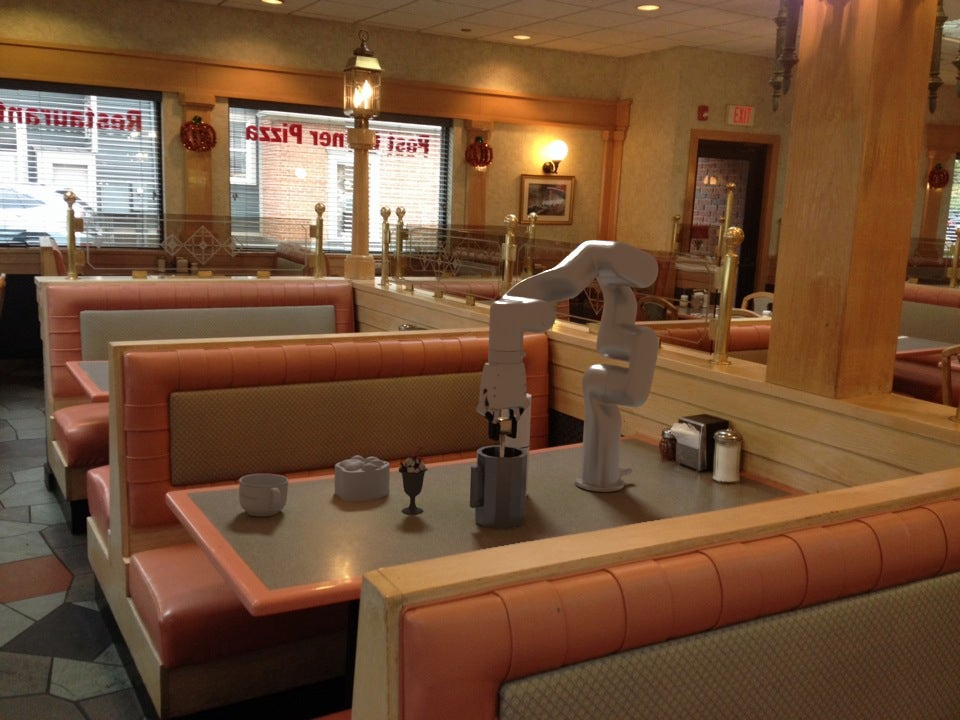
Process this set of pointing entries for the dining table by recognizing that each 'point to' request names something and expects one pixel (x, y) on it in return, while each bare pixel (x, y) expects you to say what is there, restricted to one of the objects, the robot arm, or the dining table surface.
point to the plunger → (504, 431)
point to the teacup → (263, 493)
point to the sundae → (413, 481)
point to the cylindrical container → (521, 433)
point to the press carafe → (499, 487)
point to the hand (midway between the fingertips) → (502, 437)
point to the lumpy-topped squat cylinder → (362, 479)
